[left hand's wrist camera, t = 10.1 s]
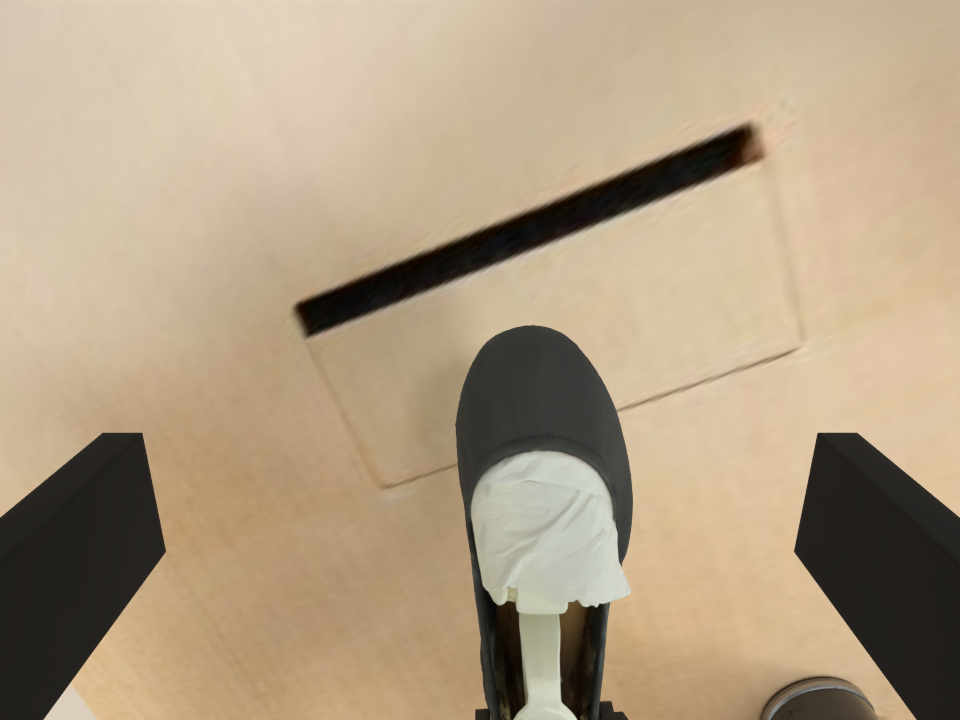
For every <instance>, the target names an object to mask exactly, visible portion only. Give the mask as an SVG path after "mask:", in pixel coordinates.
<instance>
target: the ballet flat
mask: <svg viewBox="0 0 960 720" xmlns="http://www.w3.org/2000/svg"><path fill="white" fill-rule="evenodd" d="M455 425H456V437H457V457H458V470H459V479H460V486H461V491H462V496H463V501H464V508H465V519H466V528H467V535H468V541H469V548H470V553H471V562H472V574H473V581H474V591H475V599H476V605H477V611H478V620H479V628H480V635H481V649H480V660H481V666H482V673H483V687H484V693H485V700H486V703H487V706H488V709H489V711H490V716H491V720H598V716H599V704H600V695H601V686H602V677H603V667H604V658H605V644H606V631H607V620H608V613H609V606H610V602H612V601H614V600H616V599H620V598H624V597H626V596H629V595H630V593H631V590H630V587H629V584H628V581H627V579H626V577H625V575H624V573H623V570H622V562H623V560H624V558H625V555H626V552H627V549H628V544H629V539H630V533H631V525H632V510H633V494H632V482H631V473H630V467H629V460H628V455H627V450H626V446H625V441H624V437H623V434H622V429H621V425H620V422H619V418H618V415H617V412H616V409H615V406H614V404H613V402H612V399H611V397H610V395H609V393H608V391H607V388H606V386H605V384H604V383H603V381H602V379H601V378H600V376H599V374H598V373H597V371H596V369H595V368H594V367H593V365H592V364H591V362H590V361H589V359H588V358H587V357H586V356H585V355H584V353H583V352H582V351H581V350H580V349H579V347H578V346H577V345H576V344H575V343H574V342H573V341H572V340H570V339H569V338H568V337H567V336H565V335H564V334H562V333H561V332H558V331H556V330H553V329H551V328H547V327H542V326H535V325H531V326H521V327H516V328H512V329H510V330H507V331H504V332H502V333H500V334H498V335H495V336H494V337H493V338H491V339H490V340H489V341H487V342H486V344H485V345H484V346H483V347H482V348H481V350H480V351H479V353H478V354H477V356H476V358H475V360H474V361H473V363H472V365H471V367H470V369H469V372H468V374H467V377H466V380H465V382H464V385H463V389H462V393H461V397H460V402H459V406H458V412H457V419H456V424H455Z"/></svg>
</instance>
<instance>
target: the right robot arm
mask: <svg viewBox="0 0 960 720" xmlns="http://www.w3.org/2000/svg"><path fill="white" fill-rule="evenodd" d="M475 720H490V711H489V709H476V712H475ZM598 720H628V718H627V717H626V716H625V714H624V713H623V712H614V711H613V706H612V702H611V701H602V702H600V704H599V716H598ZM761 720H880V719H879V718H878V716H877V715H876V713H875V711H874V709H873V707H872V705H871V704H870V702H869V701H868V699H867V698H866V696H865V695H864V693H863V692H862V691H861V690H860V689H859V688H857V687H856V686H854V685H853V684H851V683H849V682H846V681H843V680H839V679H833V678H816V679H810V680H806V681H802V682H799V683H796V684H794V685H792V686H790V687H788V688H786V689H785V690H783V691H782V692H780V693H779V694H778V695H776V696H775V697H774V698H773V699H772V700H771V701H770V703H769V704H768V705H767V707H766V708H765V710H764V712H763V715H762V719H761Z"/></svg>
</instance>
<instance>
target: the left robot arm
mask: <svg viewBox="0 0 960 720" xmlns="http://www.w3.org/2000/svg"><path fill="white" fill-rule="evenodd" d="M165 552H166V550H165V545H164V539H163V534H162V529H161V524H160V519H159V514H158V509H157V504H156V499H155V494H154V489H153V484H152V479H151V474H150V469H149V464H148V459H147V454H146V449H145V444H144V439H143V434H142V433H102V434H101V435H100V436H98V437H97V438H96V439H95V440H94V441H92V442H91V443H90V444H89V445H88V446H86V447H85V448H84V449H83V450H82V451H80V452H79V453H78V454H77V455H76V456H74V457H73V458H72V459H71V460H69V461H68V462H67V463H66V464H65V465H63V466H62V467H61V468H60V469H59V470H57V471H56V472H55V473H54V474H53V475H51V476H50V477H49V478H48V479H46V480H45V481H44V482H43V483H42V484H40V485H39V486H38V487H37V488H36V489H34V490H33V491H32V492H31V493H30V494H28V495H27V496H26V497H25V498H23V499H22V500H21V501H20V502H19V503H17V504H16V505H15V506H14V507H13V508H11V509H10V510H9V511H8V512H7V513H5V514H4V515H3V516H2V517H1V518H0V720H43V719H44V718H45V717H46V715H47V714H48V713H49V711H50V710H51V708H52V707H53V706H54V704H55V703H56V702H57V700H58V699H59V698H60V696H61V695H62V693H63V692H64V691H65V689H66V688H67V687H68V685H69V684H70V682H71V681H72V680H73V678H74V677H75V676H76V674H77V673H78V671H79V670H80V669H81V667H82V666H83V665H84V663H85V662H86V660H87V659H88V658H89V656H90V655H91V654H92V652H93V651H94V650H95V648H96V647H97V645H98V644H99V643H100V641H101V640H102V639H103V637H104V636H105V634H106V633H107V632H108V630H109V629H110V628H111V626H112V625H113V623H114V622H115V621H116V619H117V618H118V617H119V615H120V614H121V613H122V611H123V610H124V608H125V607H126V606H127V604H128V603H129V602H130V600H131V599H132V597H133V596H134V595H135V593H136V592H137V591H138V589H139V588H140V586H141V585H142V584H143V582H144V581H145V580H146V578H147V577H148V575H149V574H150V573H151V571H152V570H153V569H154V567H155V566H156V565H157V563H158V562H159V560H160V559H161V558H162V556H163V555H164V554H165ZM794 552H795V554H796V555H797V556H798V558H799V559H800V560H801V562H802V563H803V565H804V566H805V567H806V569H807V570H808V571H809V573H810V574H811V575H812V577H813V578H814V580H815V581H816V582H817V584H818V585H819V586H820V588H821V589H822V591H823V592H824V593H825V595H826V596H827V597H828V599H829V600H830V602H831V603H832V604H833V606H834V607H835V608H836V610H837V611H838V613H839V614H840V615H841V617H842V618H843V619H844V621H845V622H846V623H847V625H848V626H849V628H850V629H851V630H852V632H853V633H854V634H855V636H856V637H857V639H858V640H859V641H860V643H861V644H862V645H863V647H864V648H865V650H866V651H867V652H868V654H869V655H870V656H871V658H872V659H873V660H874V662H875V663H876V665H877V666H878V667H879V669H880V670H881V671H882V673H883V674H884V676H885V677H886V678H887V680H888V681H889V682H890V684H891V685H892V687H893V688H894V689H895V691H896V692H897V693H898V695H899V696H900V698H901V699H902V700H903V702H904V703H905V704H906V706H907V707H908V708H909V710H910V711H911V713H912V714H913V715H914V717H915V718H916V719H917V720H960V518H959V517H958V516H957V515H956V514H955V513H953V512H952V511H951V510H950V509H949V508H947V507H946V506H945V505H944V504H943V503H941V502H940V501H939V500H938V499H937V498H935V497H934V496H933V495H932V494H930V493H929V492H928V491H927V490H926V489H924V488H923V487H922V486H921V485H920V484H918V483H917V482H916V481H915V480H914V479H912V478H911V477H910V476H909V475H907V474H906V473H905V472H904V471H903V470H901V469H900V468H899V467H898V466H897V465H895V464H894V463H893V462H892V461H891V460H889V459H888V458H887V457H886V456H884V455H883V454H882V453H881V452H880V451H878V450H877V449H876V448H875V447H874V446H872V445H871V444H870V443H869V442H868V441H866V440H865V439H864V438H863V437H862V436H860V435H859V434H858V433H818V434H817V439H816V444H815V449H814V454H813V459H812V464H811V469H810V474H809V479H808V484H807V489H806V494H805V499H804V504H803V509H802V514H801V519H800V524H799V529H798V534H797V539H796V545H795V550H794Z"/></svg>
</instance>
